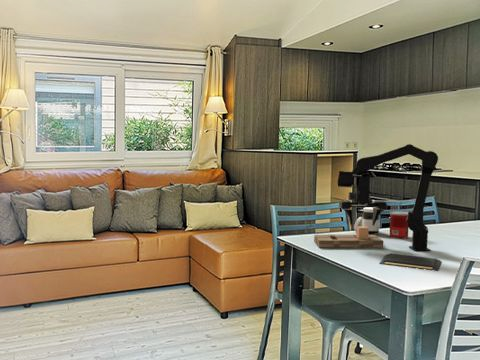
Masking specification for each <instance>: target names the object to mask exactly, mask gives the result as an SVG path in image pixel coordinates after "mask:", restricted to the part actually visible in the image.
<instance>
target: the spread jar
mask: <svg viewBox="0 0 480 360" xmlns="http://www.w3.org/2000/svg"><path fill="white" fill-rule="evenodd" d="M362 208H363V212H362V216H359V217H358V218H357V219H356V221H355V223H354V225H353V230H354V231H356V226H366V227H368V228H369V233H368V235H377V234H379V233H380V232H379V231H380V215H379V216H378V218H377V220H376V222H375V224H374V226H373V225H372V220H373V208H374V207H362Z"/></svg>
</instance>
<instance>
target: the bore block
mask: <svg viewBox="0 0 480 360" xmlns="http://www.w3.org/2000/svg"><path fill="white" fill-rule="evenodd" d="M313 237H314V238H313V241H314V243H315V244H316V246H317V247H318V249H383V248H384V240H383V239H382V238H380V237H379V236H378V235H377V234H368V239H357V238H356V234H314V235H313Z"/></svg>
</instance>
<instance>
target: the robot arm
mask: <svg viewBox="0 0 480 360" xmlns="http://www.w3.org/2000/svg"><path fill="white" fill-rule="evenodd" d="M407 155H410V156H412V157H414V158H417V159H418V160H420V161H421V174H420V179H419V183H418V188H417V191H416V196H415V200H414V204H413V205H414V206H413V207H412V210H410V209H408V210H407V211H408V212H407V213H408V217H407V219H406V222H408V227H409V228H408V230H410V231H412V235H411V236H412V240H411V242H412V243H411V245H409V246H408V248H409V249H411V250H412V251H417V252H418V251H419V252H429V251H430V252H431V250H432V249H430V248H429V247H428V238H429V236H428V234H429V228H428V226H427V225H426V224H425V223H424V210H425V209H424V208H425V203H426V200H427V195H428V191H429V187H430V182H431V179H432V175H433V172H434V170H435V169H436V166H437V163H438V162H439V156H438V154H437V153H436V152H435V151H433V150H428V151H426V150H423V149H421V148H419V147H416V146H415V145H413V144H411V143H409V144H406V145H403V146H402V147H398V148H395V149H393V150H392V149H391V150H389V151H386V152H384V153H381V154H377V155H371V156H363V157H361V158H359V159H358V160H357V161H356V166H355V167H354V168H353V169H352V171H345V170H339V171H338V177H337V187H338V188H353V186H355V192H352V191H351V192H348V200H340V201H339V202H338V207H339V208H340V209H341V210H343V211H345V212H346V213H345V214H346V216H347V218H348V221H349V226H353V209H352V208H365V207H373V220H372V225H373V226H374V224H375V222H376V220H377V218H378V216H379V217H380V215H381V214H382V212H384V211H385V210H388V203H387V202H386V201H385V200H374V201H373V202H371V194H372V191H371V187H372V185H371V182H372V179H373V178H376V175H375V173H374V172H373V171H370V170H372V169H374V168H375V167H378V166H379V165H381V164H384V163H387V162H390V161H393V160H396V159H398V158H402V157H405V156H407ZM368 171H370V172H368ZM366 172H367V173H366ZM359 173H361V174H360V175H359Z"/></svg>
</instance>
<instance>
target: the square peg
mask: <svg viewBox="0 0 480 360" xmlns="http://www.w3.org/2000/svg"><path fill="white" fill-rule="evenodd" d="M368 233H369V228H368V227H366V226H356V230H355V235H356V238H357V239H368V235H369V234H368Z"/></svg>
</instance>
